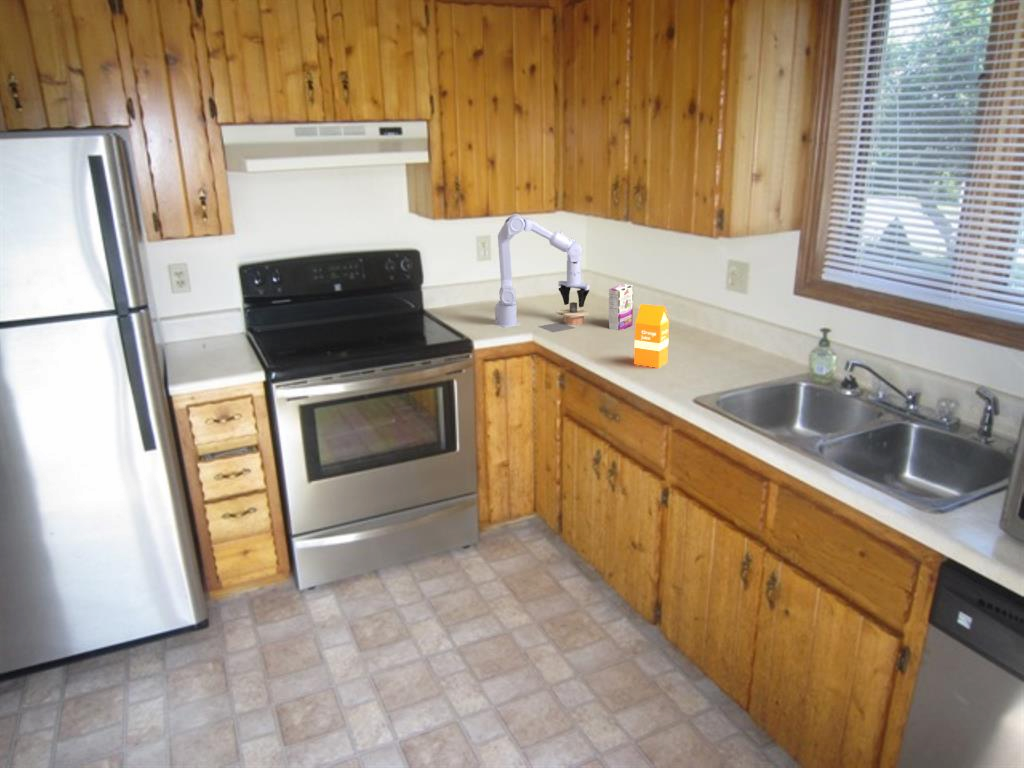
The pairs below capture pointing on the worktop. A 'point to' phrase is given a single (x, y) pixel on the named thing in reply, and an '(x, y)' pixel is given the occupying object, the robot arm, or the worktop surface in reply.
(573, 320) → the bowl
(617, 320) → the candy bar box
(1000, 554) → the worktop surface
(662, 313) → the orange juice
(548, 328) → the mat
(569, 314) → the lid
